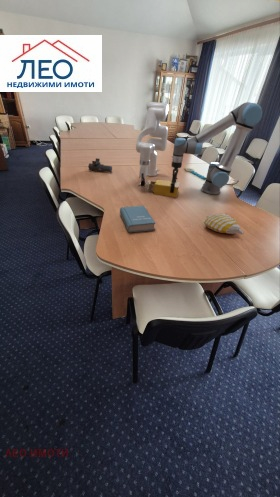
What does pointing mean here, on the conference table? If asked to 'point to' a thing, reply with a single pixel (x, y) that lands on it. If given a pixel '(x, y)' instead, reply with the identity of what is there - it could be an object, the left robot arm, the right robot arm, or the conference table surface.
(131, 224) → the book
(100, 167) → the laser sight
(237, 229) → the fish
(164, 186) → the cabinet
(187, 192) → the conference table surface
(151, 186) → the drawer
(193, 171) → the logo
